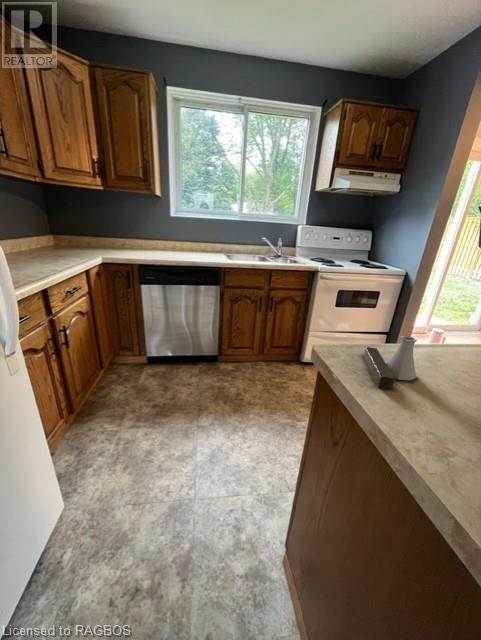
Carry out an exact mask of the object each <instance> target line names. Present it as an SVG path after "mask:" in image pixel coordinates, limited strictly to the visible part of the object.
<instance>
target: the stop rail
mask: <svg viewBox="0 0 481 640" xmlns="http://www.w3.org/2000/svg"><path fill="white" fill-rule="evenodd" d="M363 358H364V361H365V363H366V365H367V367H368V369H369V371H370V374H371V375H372V377H373V380H374V382H375V385H376V386H377V388H380V389H385V390H386V389H387V390H393V386H394V383H395V380H396V378H394V376H393V375H392V373H391V371H390V370H389V368H388V366H387V365H386V363H387V362H385V360H384V358H383V356H382V354H381V353H380V351H379V350H378V348H377V347H368V346H365V348H364V352H363Z"/></svg>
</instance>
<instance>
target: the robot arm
mask: <svg viewBox="0 0 481 640" xmlns="http://www.w3.org/2000/svg"><path fill="white" fill-rule="evenodd" d="M478 210H479V213H480V214H481V203H479V204H478ZM478 235H479V236H478V248H480V249H481V219H480V222H479V233H478Z"/></svg>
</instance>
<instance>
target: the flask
mask: <svg viewBox="0 0 481 640" xmlns="http://www.w3.org/2000/svg"><path fill="white" fill-rule="evenodd" d="M400 339H401V341H400V344H399V346H398V348H397V350H396V351H395V352H394V354H393V355H392V356H391V357H390V358H389V359H388V361H387V362H385V363H386V365H387V366H388V368H389V370H390V371H391V373H392V375H393V376H394V378H395V380H398V381H399V380H400V381H413V380H414V379H416V378H417V373H416V367H415V358H414V346H415V343H417V341H418V339H416V338H415V337H413V336H411V335H401V336H400Z"/></svg>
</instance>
